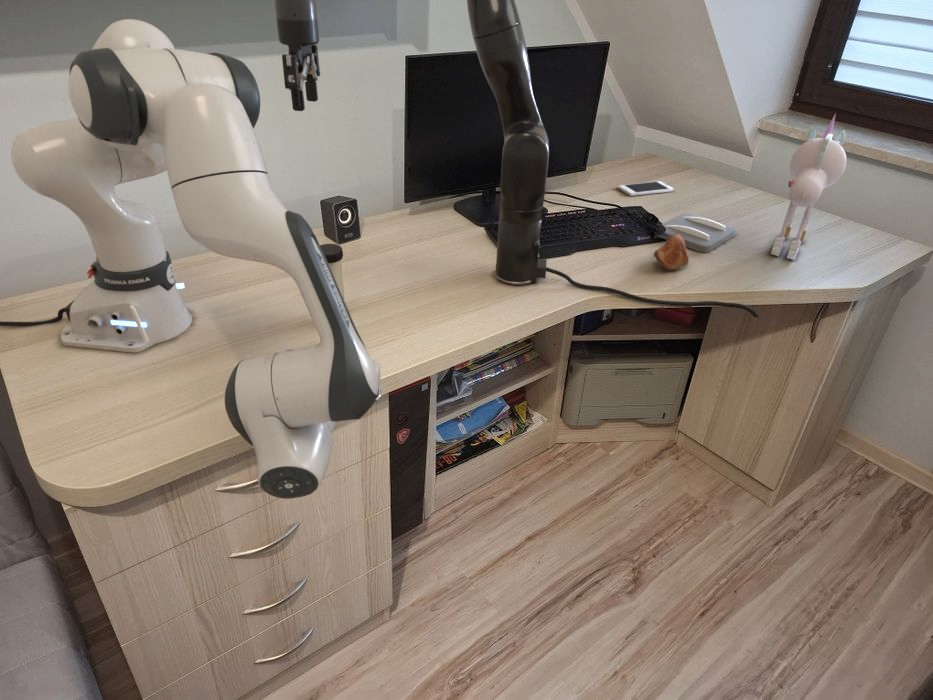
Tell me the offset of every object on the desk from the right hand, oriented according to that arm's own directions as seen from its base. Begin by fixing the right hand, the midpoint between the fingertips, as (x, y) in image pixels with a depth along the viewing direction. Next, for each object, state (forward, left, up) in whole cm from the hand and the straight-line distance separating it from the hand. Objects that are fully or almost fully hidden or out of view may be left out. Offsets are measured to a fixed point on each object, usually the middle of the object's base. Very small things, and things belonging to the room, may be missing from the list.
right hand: (306, 105), depth 129 cm
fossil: (-81, -12, -35) cm, 89 cm away
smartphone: (-82, -65, -35) cm, 110 cm away
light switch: (-91, -32, -35) cm, 102 cm away
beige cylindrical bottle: (-11, +27, -35) cm, 45 cm away
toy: (-116, -34, -35) cm, 126 cm away
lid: (-11, +27, -19) cm, 34 cm away
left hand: (-15, +48, -27) cm, 57 cm away
